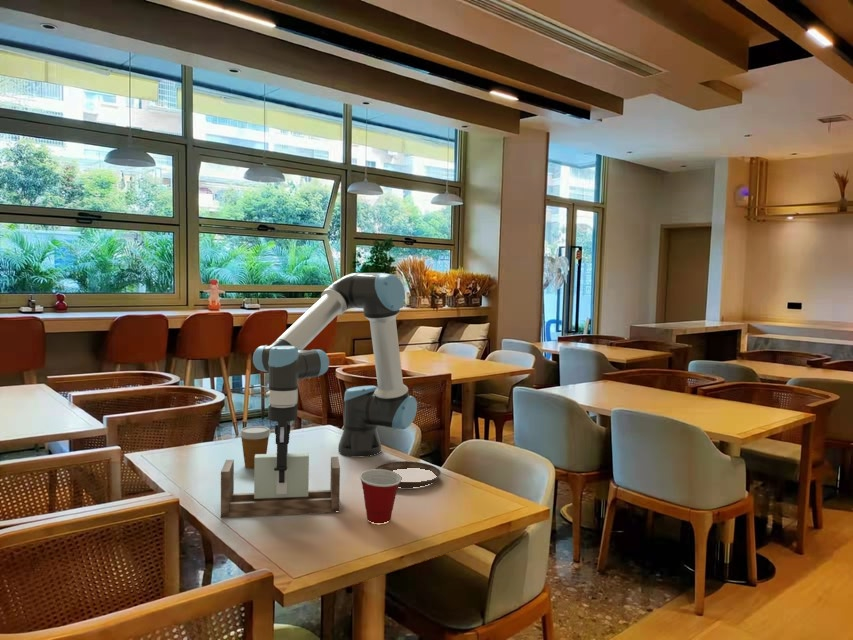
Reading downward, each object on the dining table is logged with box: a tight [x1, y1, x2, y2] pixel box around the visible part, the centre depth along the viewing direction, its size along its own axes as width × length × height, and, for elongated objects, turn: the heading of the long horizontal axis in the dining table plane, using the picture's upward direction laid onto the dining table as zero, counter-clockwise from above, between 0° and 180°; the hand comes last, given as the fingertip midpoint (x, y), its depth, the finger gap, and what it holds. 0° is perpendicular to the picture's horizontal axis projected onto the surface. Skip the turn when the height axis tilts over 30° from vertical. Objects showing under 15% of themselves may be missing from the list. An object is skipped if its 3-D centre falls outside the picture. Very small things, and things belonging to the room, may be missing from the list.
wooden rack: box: [220, 456, 341, 518], centre depth 163 cm, size 30×10×12 cm, turn 101°
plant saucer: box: [374, 460, 442, 488], centre depth 188 cm, size 21×21×3 cm
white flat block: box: [253, 452, 310, 499], centre depth 163 cm, size 14×3×11 cm, turn 101°
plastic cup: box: [359, 468, 402, 523], centre depth 156 cm, size 11×11×12 cm
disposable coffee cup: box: [239, 425, 271, 470], centre depth 197 cm, size 10×10×12 cm
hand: (281, 491), depth 163 cm, fingers closed on white flat block, 3 cm apart
